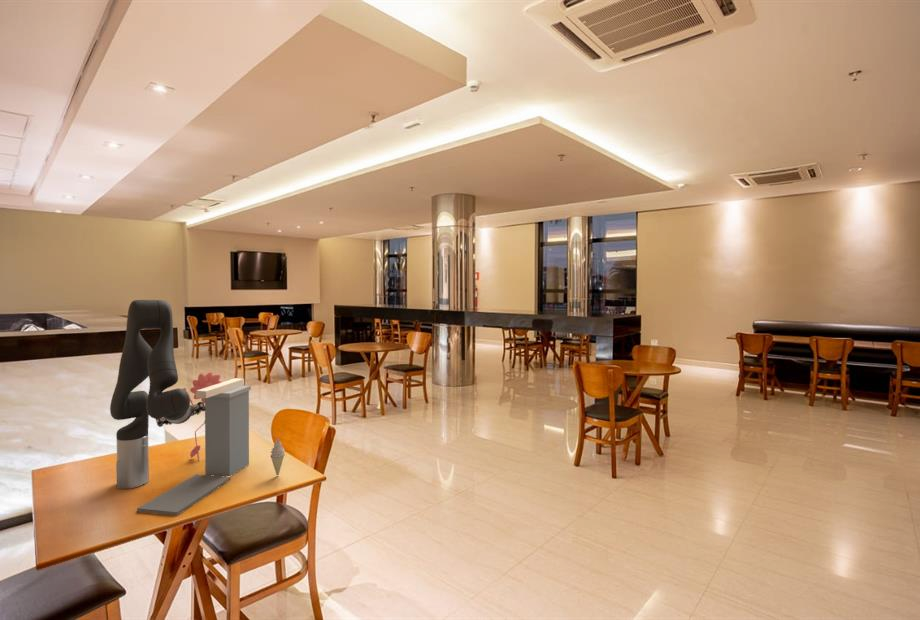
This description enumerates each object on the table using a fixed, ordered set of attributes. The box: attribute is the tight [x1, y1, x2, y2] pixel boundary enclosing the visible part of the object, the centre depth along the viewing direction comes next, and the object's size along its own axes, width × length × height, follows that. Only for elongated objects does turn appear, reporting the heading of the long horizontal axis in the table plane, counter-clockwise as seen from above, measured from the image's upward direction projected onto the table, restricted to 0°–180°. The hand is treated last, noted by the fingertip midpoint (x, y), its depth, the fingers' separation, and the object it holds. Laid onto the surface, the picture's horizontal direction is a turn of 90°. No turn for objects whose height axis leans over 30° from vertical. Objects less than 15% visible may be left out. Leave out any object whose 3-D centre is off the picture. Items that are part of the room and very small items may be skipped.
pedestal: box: [204, 385, 252, 477], centre depth 174 cm, size 13×11×32 cm
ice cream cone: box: [270, 437, 286, 476], centre depth 170 cm, size 5×5×15 cm
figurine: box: [182, 371, 223, 462], centre depth 190 cm, size 15×26×35 cm, turn 130°
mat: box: [136, 473, 231, 517], centre depth 154 cm, size 26×14×1 cm, turn 172°
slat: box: [196, 377, 245, 399], centre depth 170 cm, size 22×4×2 cm, turn 172°
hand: (183, 416), depth 157 cm, fingers open, 8 cm apart
